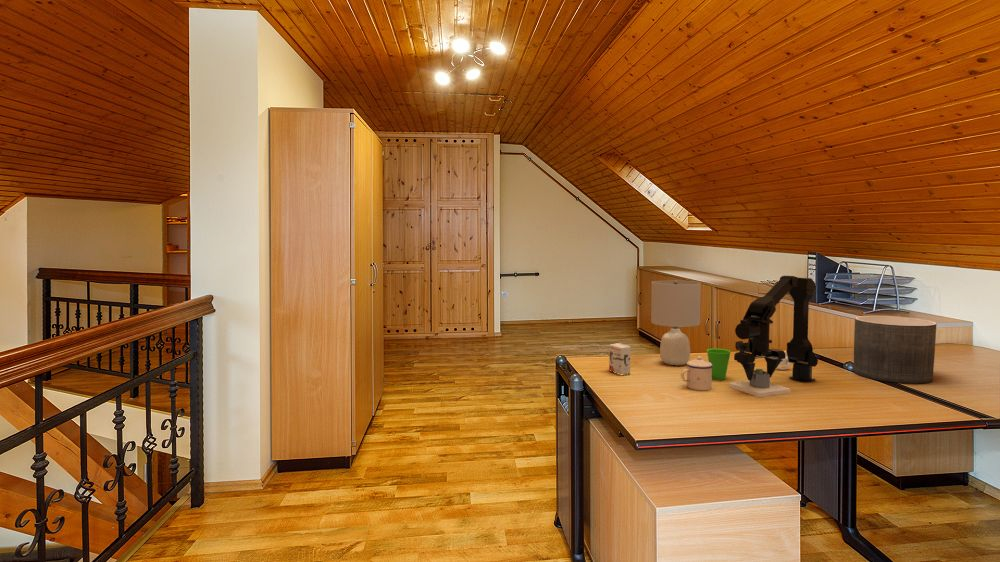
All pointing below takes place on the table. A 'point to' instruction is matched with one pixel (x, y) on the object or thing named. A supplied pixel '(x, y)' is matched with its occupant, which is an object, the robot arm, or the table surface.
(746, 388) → the post block
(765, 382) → the steel collar
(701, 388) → the teacup with lid
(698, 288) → the lamp
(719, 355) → the cup
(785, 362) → the ring around a ball
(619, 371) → the ink box
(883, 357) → the planter
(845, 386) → the table surface
